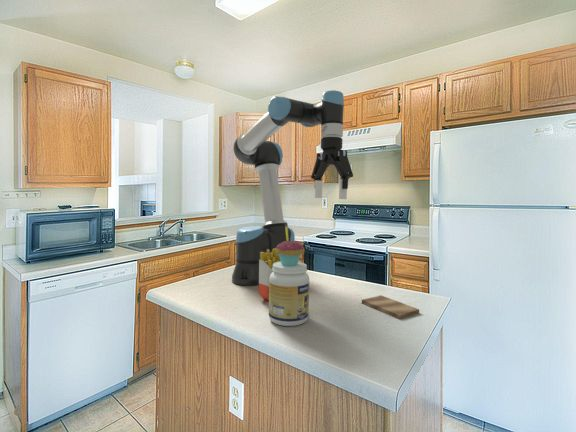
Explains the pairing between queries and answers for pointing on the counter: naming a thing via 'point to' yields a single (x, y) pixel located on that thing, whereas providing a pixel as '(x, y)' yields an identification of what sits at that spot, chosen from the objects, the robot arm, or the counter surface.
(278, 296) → the supplement tub
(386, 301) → the cutting board
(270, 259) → the french fries container
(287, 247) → the cupcake
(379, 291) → the counter surface
